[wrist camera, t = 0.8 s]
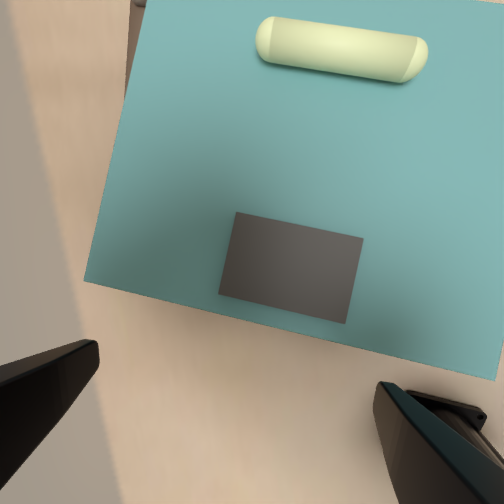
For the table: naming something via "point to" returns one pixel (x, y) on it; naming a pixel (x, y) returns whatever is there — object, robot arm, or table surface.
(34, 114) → the table surface
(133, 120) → the plate
